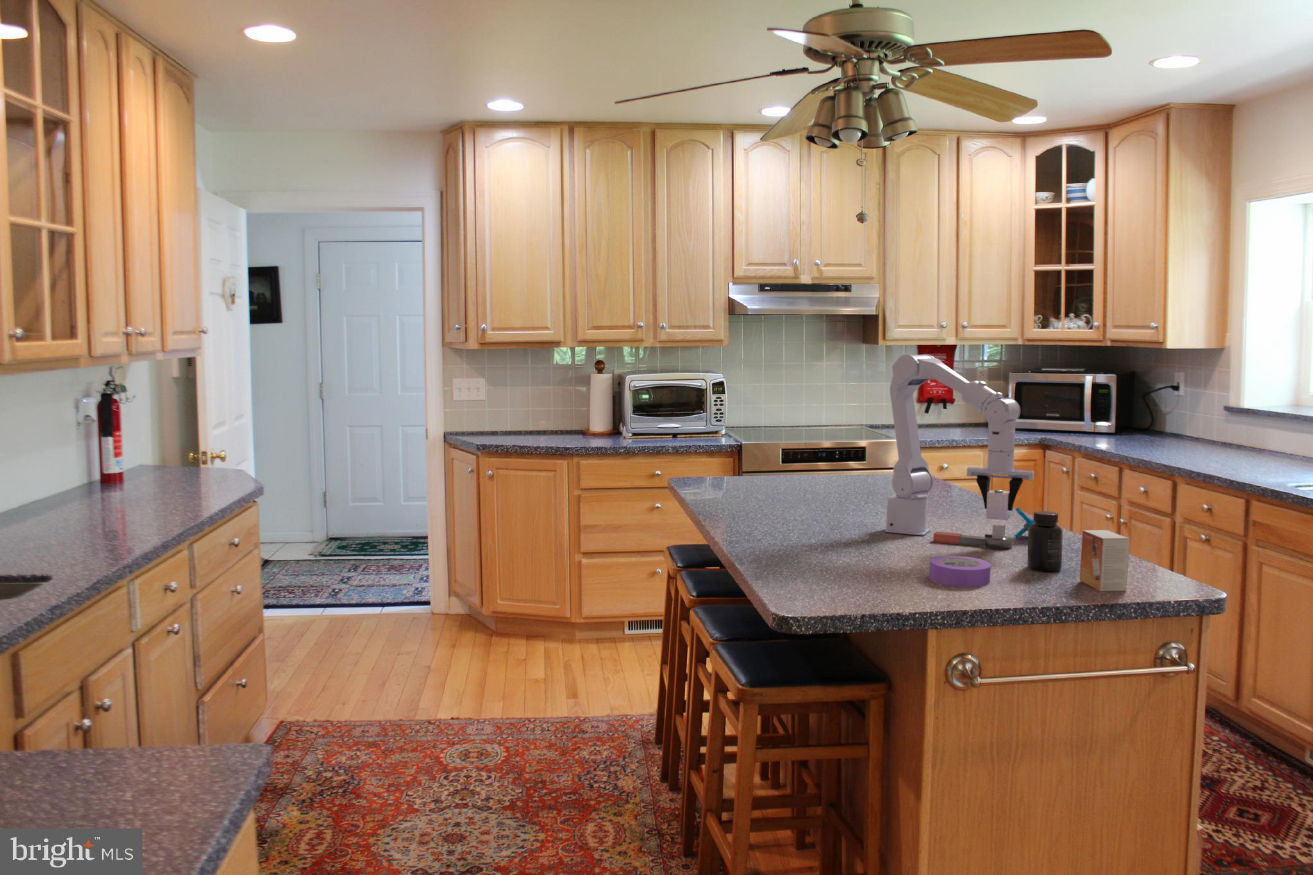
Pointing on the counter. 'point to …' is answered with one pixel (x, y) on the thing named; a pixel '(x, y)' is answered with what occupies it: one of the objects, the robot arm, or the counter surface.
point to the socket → (998, 505)
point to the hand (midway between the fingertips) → (998, 509)
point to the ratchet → (978, 539)
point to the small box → (1104, 560)
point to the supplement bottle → (1045, 543)
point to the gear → (1026, 526)
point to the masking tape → (960, 571)
